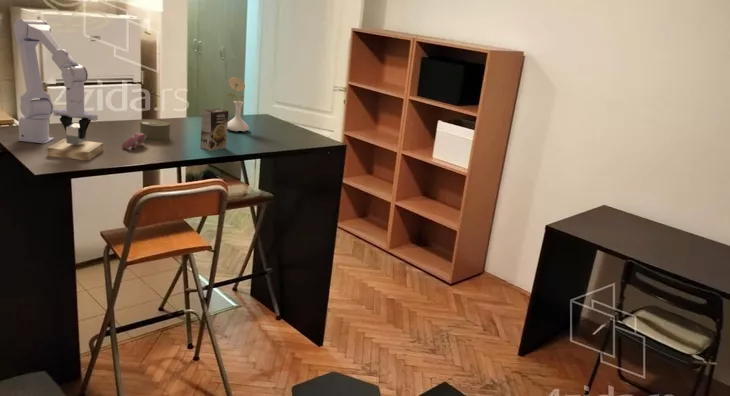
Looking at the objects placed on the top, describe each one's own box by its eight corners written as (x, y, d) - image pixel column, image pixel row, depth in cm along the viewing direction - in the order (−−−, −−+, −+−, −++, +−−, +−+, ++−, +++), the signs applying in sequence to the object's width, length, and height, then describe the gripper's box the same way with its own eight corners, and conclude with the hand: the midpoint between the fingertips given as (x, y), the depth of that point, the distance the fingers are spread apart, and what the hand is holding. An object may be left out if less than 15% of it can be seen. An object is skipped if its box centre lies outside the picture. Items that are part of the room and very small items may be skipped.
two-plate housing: (66, 143, 207) (66, 126, 205) (75, 139, 214) (74, 123, 212) (78, 144, 208) (77, 128, 206) (86, 140, 214) (86, 124, 212)
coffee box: (210, 151, 239) (212, 112, 233) (199, 147, 242) (201, 109, 236) (226, 148, 246) (229, 110, 241) (215, 144, 249) (218, 107, 244)
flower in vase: (253, 132, 281) (257, 80, 273) (236, 134, 271) (240, 80, 263) (234, 125, 287) (237, 75, 279) (217, 128, 278) (220, 75, 270)
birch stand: (47, 156, 204) (47, 147, 203) (64, 146, 218) (64, 138, 217) (89, 160, 206) (88, 152, 205) (103, 150, 219) (103, 143, 218)
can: (175, 140, 247) (175, 125, 244) (148, 142, 238) (148, 126, 236) (161, 133, 254) (161, 118, 252) (134, 135, 245) (134, 119, 243)
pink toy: (129, 153, 225) (137, 139, 223) (120, 146, 225) (127, 132, 223) (143, 148, 235) (151, 134, 232) (134, 141, 235) (141, 128, 232)
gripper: (100, 100, 210) (101, 137, 214) (59, 95, 209) (60, 132, 213) (92, 104, 203) (93, 142, 208) (50, 98, 202) (51, 136, 206)
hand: (76, 137), depth 210 cm, fingers closed on two-plate housing, 4 cm apart
